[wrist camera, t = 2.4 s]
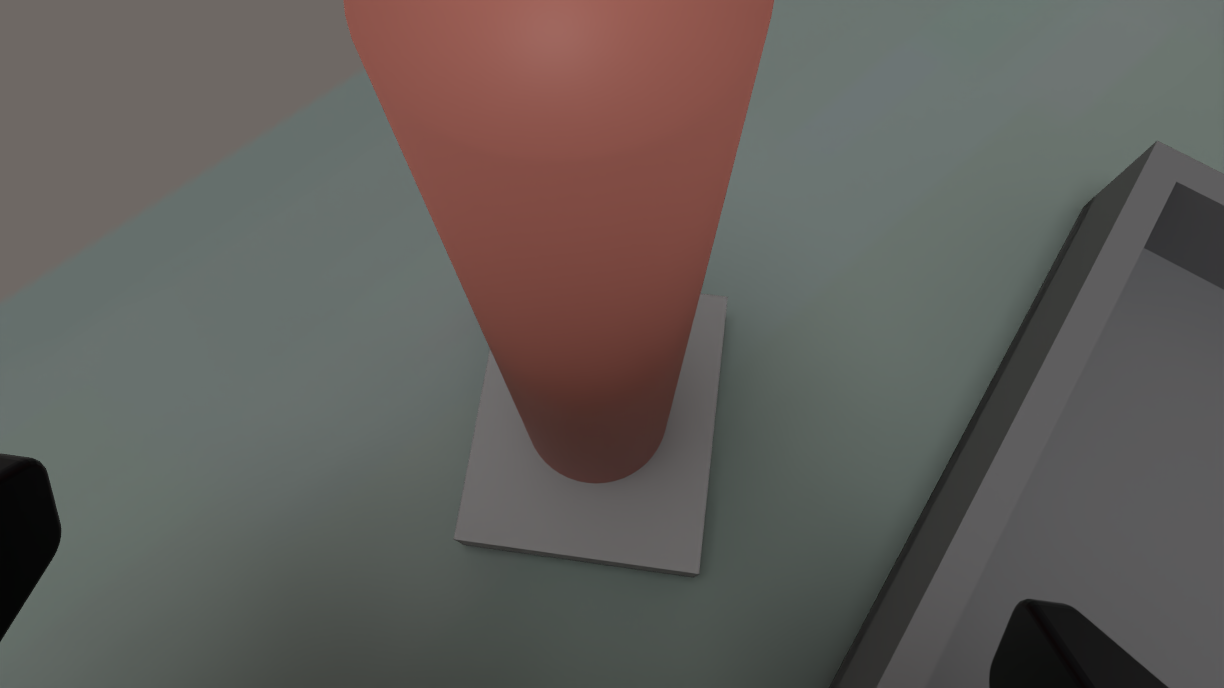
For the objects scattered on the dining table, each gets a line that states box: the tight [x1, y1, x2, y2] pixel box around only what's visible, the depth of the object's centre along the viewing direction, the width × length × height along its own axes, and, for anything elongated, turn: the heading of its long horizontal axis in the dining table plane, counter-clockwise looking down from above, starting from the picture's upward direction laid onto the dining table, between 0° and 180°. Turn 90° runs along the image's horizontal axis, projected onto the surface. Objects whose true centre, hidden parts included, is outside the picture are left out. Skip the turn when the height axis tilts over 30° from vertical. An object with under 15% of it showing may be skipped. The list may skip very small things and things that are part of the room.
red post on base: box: [344, 0, 774, 577], centre depth 13 cm, size 6×5×14 cm
